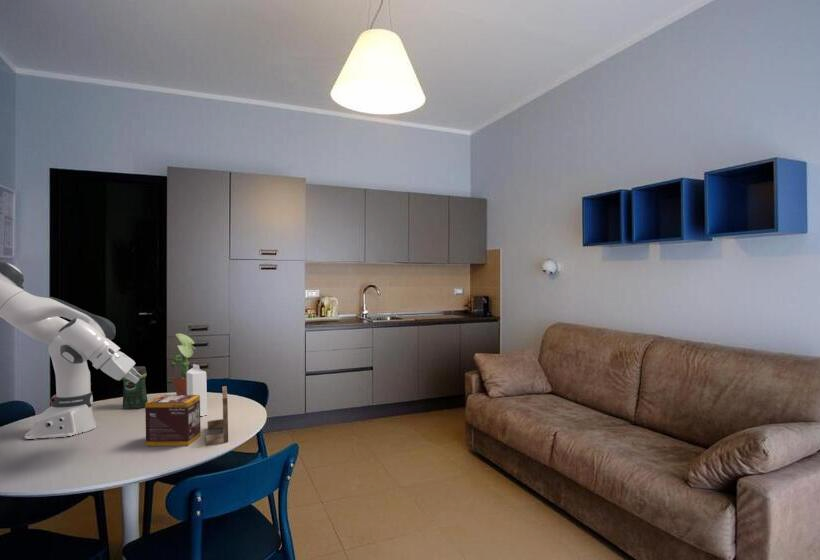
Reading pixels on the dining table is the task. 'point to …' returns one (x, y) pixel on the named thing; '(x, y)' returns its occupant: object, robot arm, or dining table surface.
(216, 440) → the display stand
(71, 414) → the robot arm
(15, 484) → the dining table surface
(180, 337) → the potted plant
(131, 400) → the coffee jar
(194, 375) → the milk
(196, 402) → the supplement box
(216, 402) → the dining table surface
